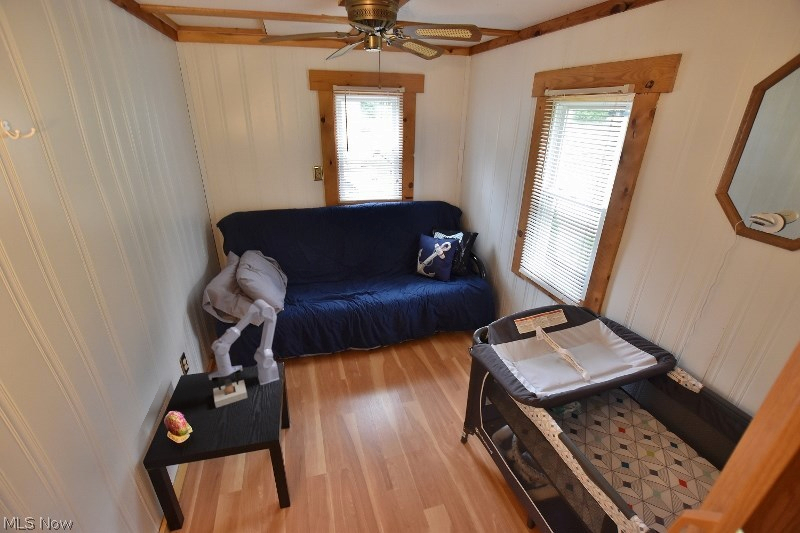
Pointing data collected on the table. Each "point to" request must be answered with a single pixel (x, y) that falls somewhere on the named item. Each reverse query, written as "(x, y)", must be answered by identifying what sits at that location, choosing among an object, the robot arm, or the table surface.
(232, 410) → the table surface
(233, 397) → the socket plate
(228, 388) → the peg
